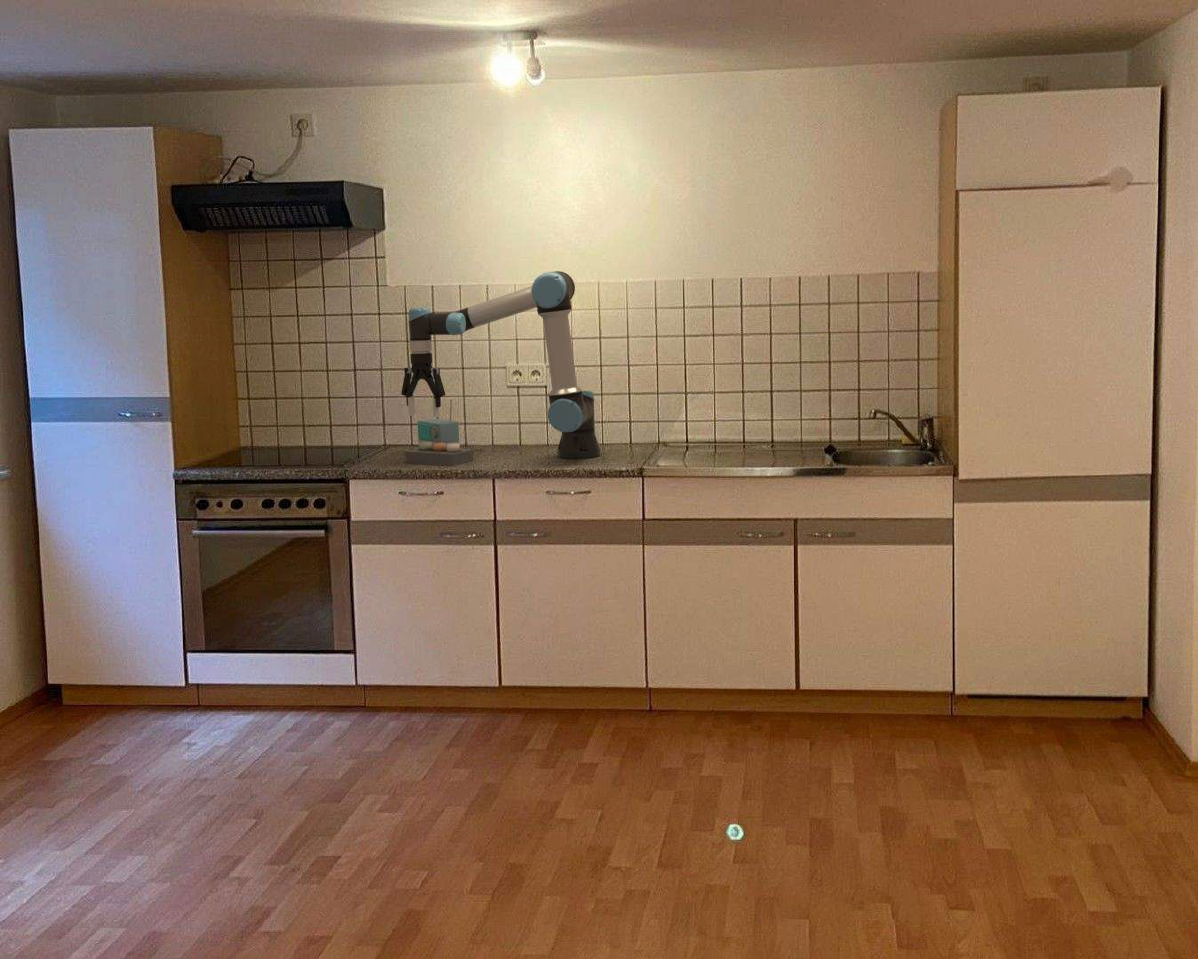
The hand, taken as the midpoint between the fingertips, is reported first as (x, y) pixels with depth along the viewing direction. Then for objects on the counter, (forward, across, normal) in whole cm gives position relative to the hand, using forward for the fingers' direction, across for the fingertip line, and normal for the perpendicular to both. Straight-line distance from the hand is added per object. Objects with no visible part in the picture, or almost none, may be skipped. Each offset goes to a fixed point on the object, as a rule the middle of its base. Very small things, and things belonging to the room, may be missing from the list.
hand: (424, 416), depth 512 cm
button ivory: (+12, -12, 0) cm, 17 cm away
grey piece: (+16, -6, 0) cm, 17 cm away
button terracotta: (+12, -6, 0) cm, 13 cm away
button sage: (+12, 0, 0) cm, 12 cm away
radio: (+16, +7, -16) cm, 24 cm away
